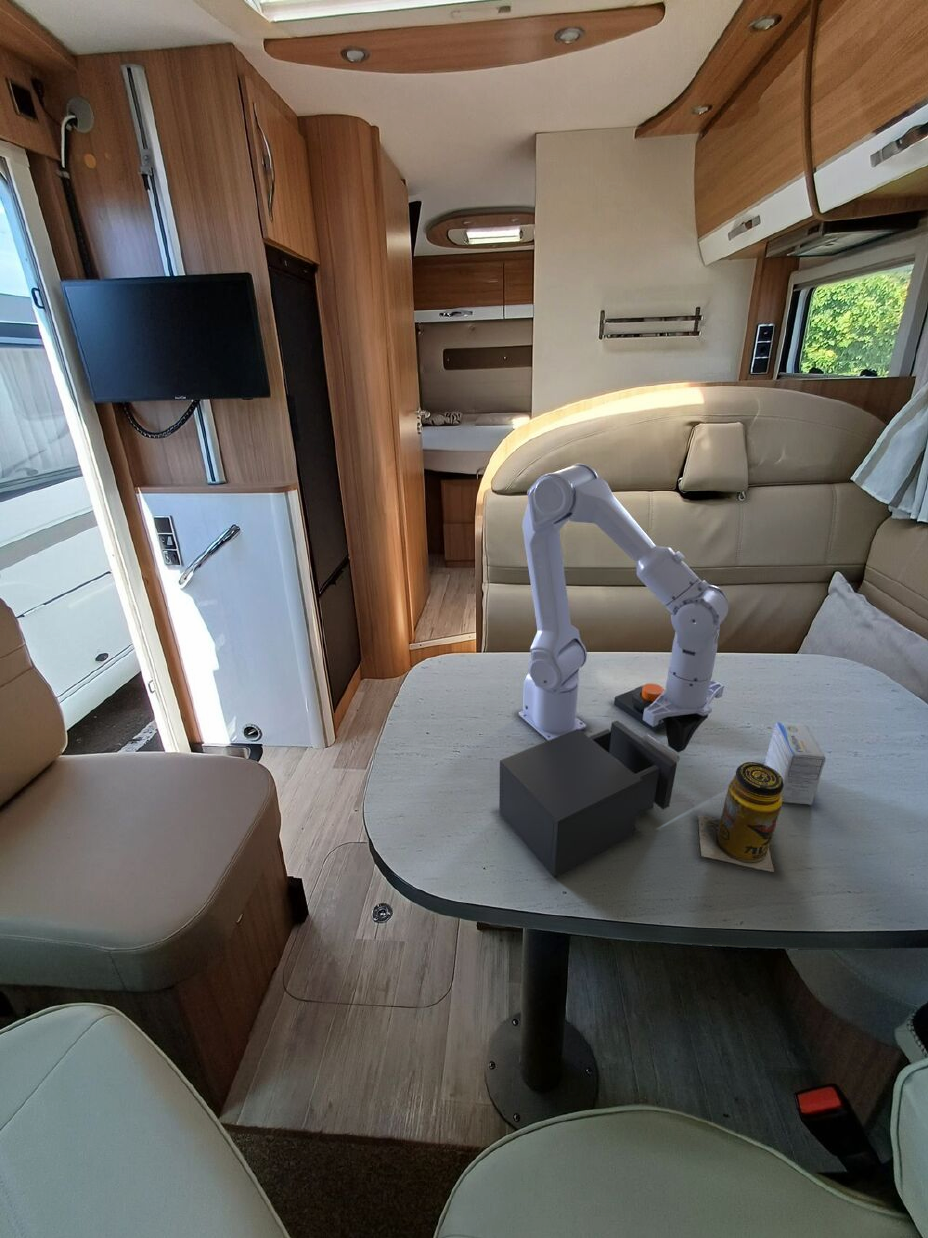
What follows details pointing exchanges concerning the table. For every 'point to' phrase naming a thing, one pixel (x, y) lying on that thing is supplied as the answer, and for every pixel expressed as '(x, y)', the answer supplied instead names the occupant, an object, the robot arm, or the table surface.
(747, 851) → the condiment
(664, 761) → the drawer
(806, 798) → the medicine box
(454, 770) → the table surface
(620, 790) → the grey cube with drawer
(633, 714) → the control block
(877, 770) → the table surface
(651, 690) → the button
